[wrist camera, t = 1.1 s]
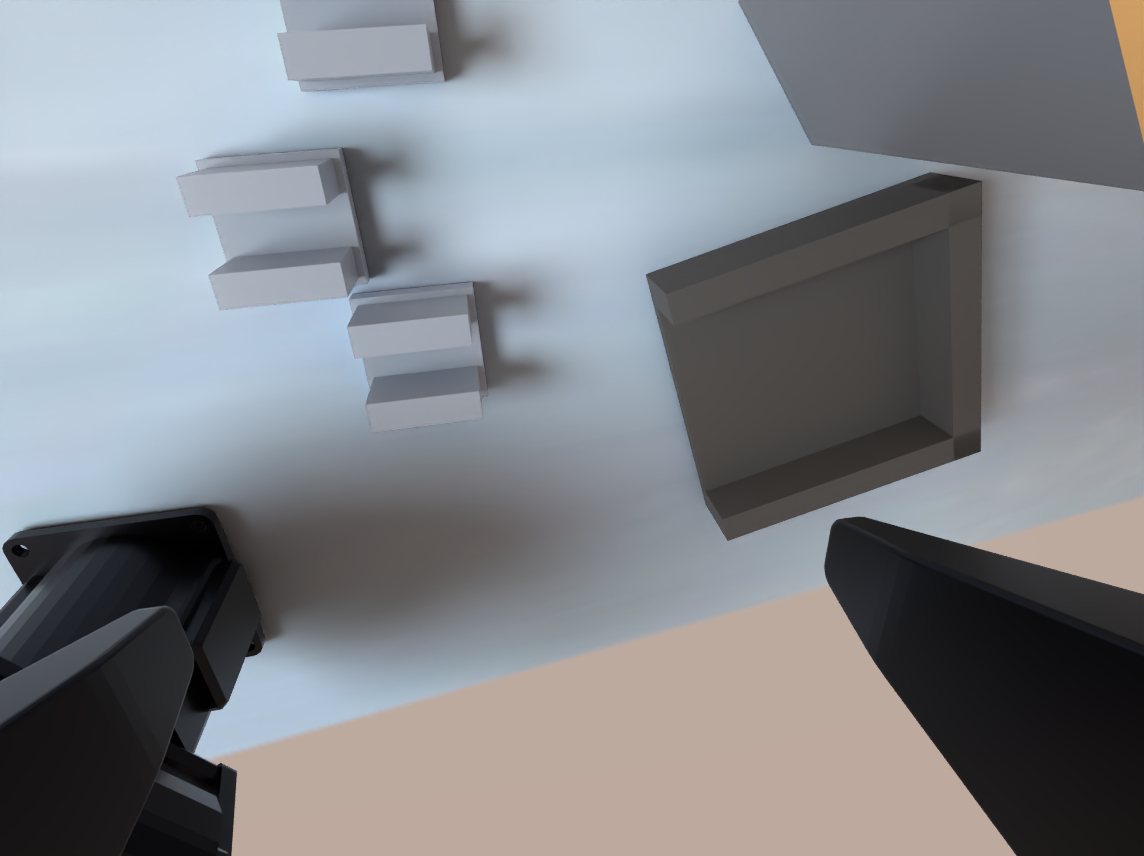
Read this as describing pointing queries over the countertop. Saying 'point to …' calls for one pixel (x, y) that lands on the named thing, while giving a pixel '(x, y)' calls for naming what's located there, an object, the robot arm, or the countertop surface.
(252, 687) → the countertop surface
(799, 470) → the dark grey square tray
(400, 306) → the clips
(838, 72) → the connector
